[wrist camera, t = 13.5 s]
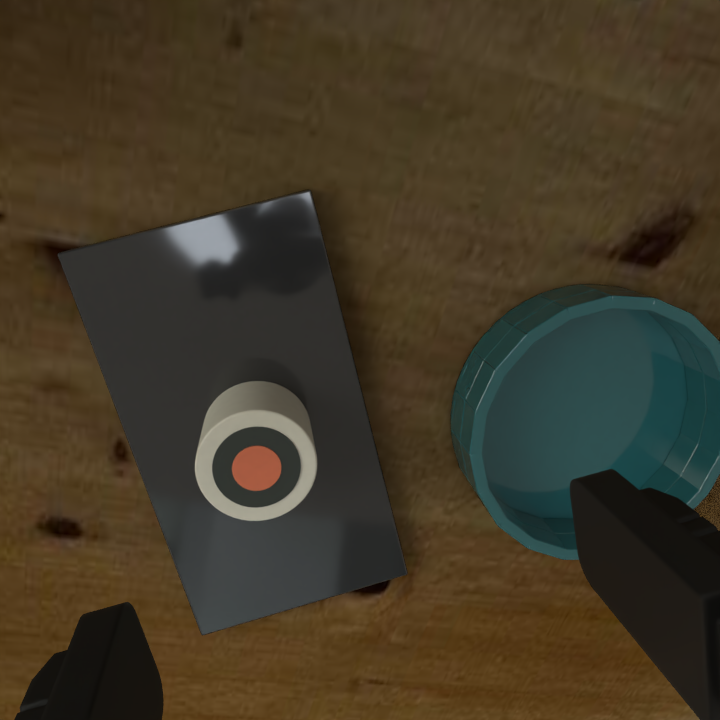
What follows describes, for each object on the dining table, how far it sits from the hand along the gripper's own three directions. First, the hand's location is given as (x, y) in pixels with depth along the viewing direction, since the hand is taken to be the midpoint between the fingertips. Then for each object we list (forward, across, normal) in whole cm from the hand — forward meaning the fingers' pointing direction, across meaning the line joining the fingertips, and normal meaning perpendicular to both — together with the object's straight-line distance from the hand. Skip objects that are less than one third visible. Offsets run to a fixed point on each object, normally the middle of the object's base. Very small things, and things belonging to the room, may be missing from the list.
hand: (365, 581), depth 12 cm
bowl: (+20, -13, +8) cm, 25 cm away
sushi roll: (+19, +3, +4) cm, 20 cm away
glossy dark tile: (+20, +3, +4) cm, 21 cm away
